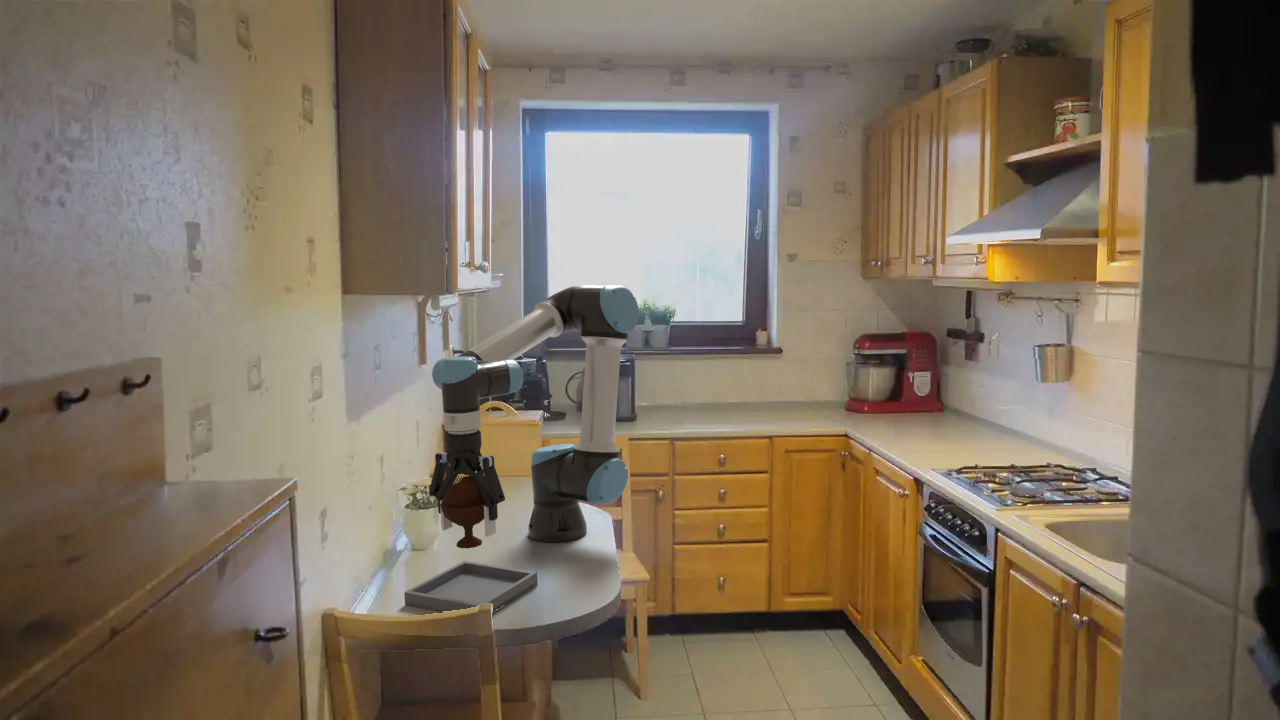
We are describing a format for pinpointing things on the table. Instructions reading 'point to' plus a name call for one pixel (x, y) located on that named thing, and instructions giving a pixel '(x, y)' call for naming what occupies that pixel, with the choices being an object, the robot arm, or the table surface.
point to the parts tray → (470, 587)
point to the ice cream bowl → (464, 509)
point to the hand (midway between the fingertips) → (468, 531)
